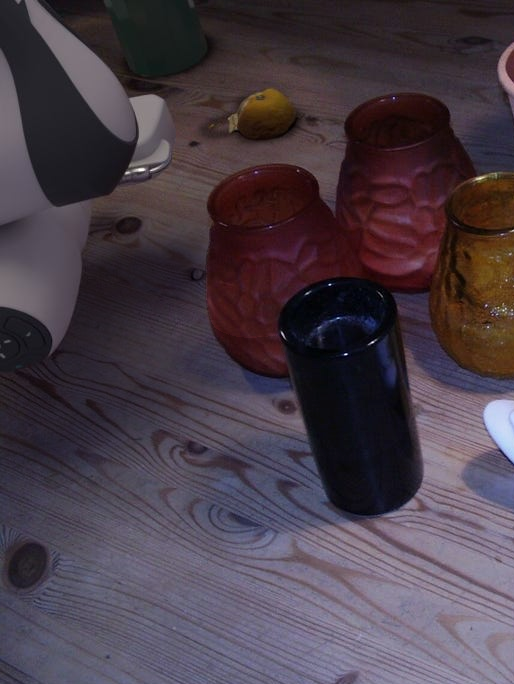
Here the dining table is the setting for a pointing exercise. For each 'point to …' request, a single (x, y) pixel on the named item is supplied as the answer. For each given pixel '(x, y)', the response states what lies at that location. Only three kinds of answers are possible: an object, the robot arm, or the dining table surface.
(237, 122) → the fruit
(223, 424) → the dining table surface
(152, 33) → the holder
